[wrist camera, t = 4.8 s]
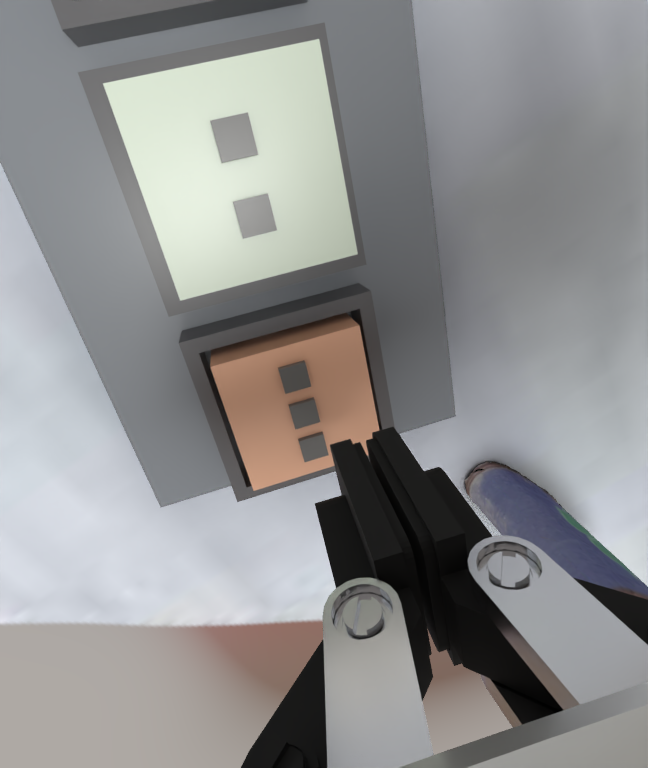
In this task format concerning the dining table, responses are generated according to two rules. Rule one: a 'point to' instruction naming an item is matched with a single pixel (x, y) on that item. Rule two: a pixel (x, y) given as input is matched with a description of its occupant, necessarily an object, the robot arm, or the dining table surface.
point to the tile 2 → (238, 166)
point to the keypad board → (140, 242)
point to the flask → (547, 527)
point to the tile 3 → (296, 397)
